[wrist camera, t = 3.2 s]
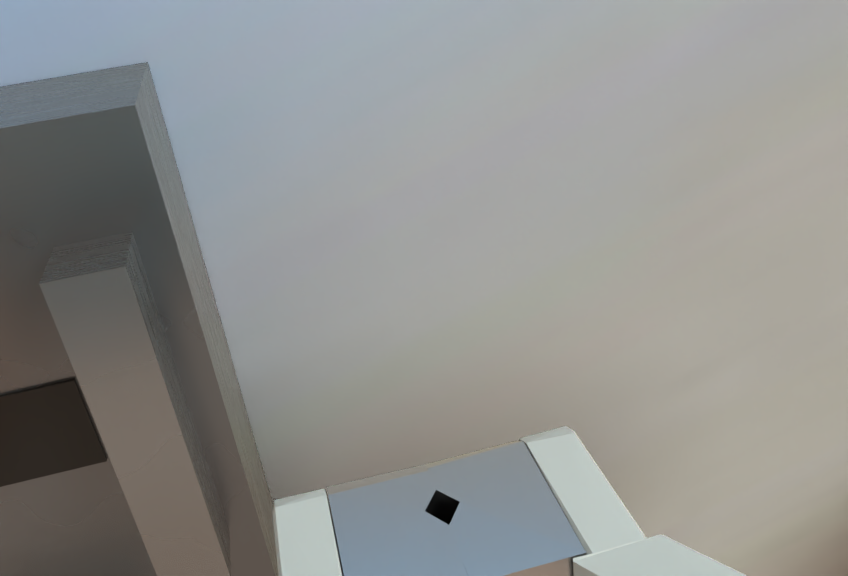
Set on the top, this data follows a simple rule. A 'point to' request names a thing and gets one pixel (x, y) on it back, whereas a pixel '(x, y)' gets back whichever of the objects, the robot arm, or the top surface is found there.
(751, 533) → the top surface
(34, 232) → the panel
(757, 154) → the top surface
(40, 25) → the top surface
